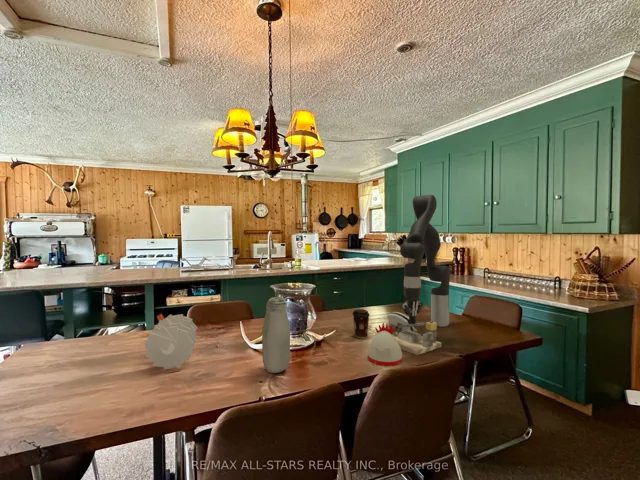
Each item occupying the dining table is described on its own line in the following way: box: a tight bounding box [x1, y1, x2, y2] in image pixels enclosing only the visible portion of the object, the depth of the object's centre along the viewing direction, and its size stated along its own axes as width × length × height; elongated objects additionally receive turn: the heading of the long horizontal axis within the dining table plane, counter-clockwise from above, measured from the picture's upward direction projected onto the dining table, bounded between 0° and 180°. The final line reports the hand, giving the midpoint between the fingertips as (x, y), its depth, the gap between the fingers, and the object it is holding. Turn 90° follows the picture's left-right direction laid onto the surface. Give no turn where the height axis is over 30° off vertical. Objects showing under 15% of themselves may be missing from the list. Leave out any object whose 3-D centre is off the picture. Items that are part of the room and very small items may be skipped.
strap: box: [396, 322, 426, 329], centre depth 151 cm, size 3×17×1 cm, turn 35°
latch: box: [425, 320, 438, 331], centre depth 149 cm, size 4×3×4 cm
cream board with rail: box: [392, 322, 442, 356], centre depth 151 cm, size 17×22×8 cm
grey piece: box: [387, 311, 418, 333], centre depth 174 cm, size 17×5×10 cm, turn 28°
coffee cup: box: [352, 308, 370, 339], centre depth 162 cm, size 9×8×13 cm
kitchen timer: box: [367, 322, 403, 367], centre depth 133 cm, size 14×14×15 cm
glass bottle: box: [261, 296, 291, 374], centre depth 121 cm, size 10×10×28 cm
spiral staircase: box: [144, 313, 199, 370], centre depth 132 cm, size 18×18×25 cm
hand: (412, 323), depth 149 cm, fingers closed
